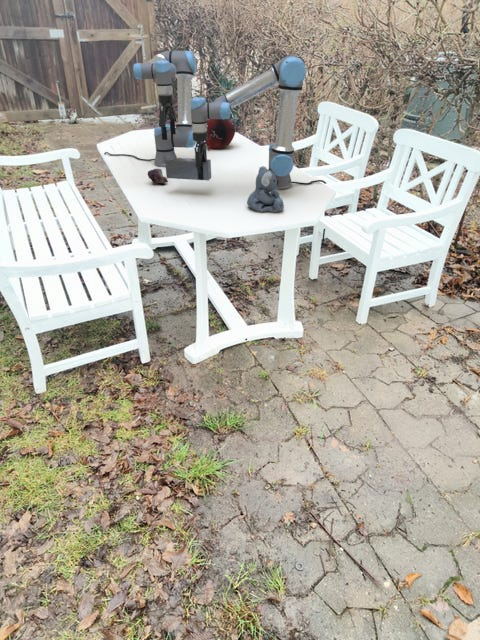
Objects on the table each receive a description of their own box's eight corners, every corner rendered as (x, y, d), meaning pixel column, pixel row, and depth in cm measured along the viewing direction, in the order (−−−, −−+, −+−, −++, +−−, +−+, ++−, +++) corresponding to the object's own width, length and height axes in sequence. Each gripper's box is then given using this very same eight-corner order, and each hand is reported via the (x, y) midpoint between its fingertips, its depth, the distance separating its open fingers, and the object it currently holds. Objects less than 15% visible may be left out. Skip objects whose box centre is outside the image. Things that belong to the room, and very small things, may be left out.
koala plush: (284, 213, 221) (286, 172, 209) (248, 214, 219) (248, 174, 208) (279, 200, 235) (281, 162, 224) (245, 202, 234) (245, 163, 223)
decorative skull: (200, 122, 333) (198, 119, 310) (231, 115, 333) (232, 111, 309) (207, 152, 340) (206, 151, 317) (237, 145, 339) (238, 143, 316)
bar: (166, 178, 242) (164, 160, 236) (170, 175, 246) (168, 157, 241) (208, 180, 238) (207, 162, 232) (211, 177, 242) (210, 159, 236)
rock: (162, 181, 267) (146, 183, 263) (160, 166, 263) (144, 168, 259) (169, 183, 258) (152, 185, 254) (167, 168, 254) (150, 170, 250)
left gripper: (163, 98, 226) (167, 142, 238) (179, 91, 246) (182, 132, 258) (149, 97, 227) (154, 141, 239) (166, 90, 247) (170, 131, 260)
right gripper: (201, 136, 219) (204, 183, 232) (211, 128, 234) (213, 173, 247) (187, 135, 220) (190, 182, 234) (197, 127, 235) (200, 172, 248)
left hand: (169, 136), depth 249 cm, fingers open, 13 cm apart
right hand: (202, 177), depth 240 cm, fingers closed on bar, 5 cm apart
